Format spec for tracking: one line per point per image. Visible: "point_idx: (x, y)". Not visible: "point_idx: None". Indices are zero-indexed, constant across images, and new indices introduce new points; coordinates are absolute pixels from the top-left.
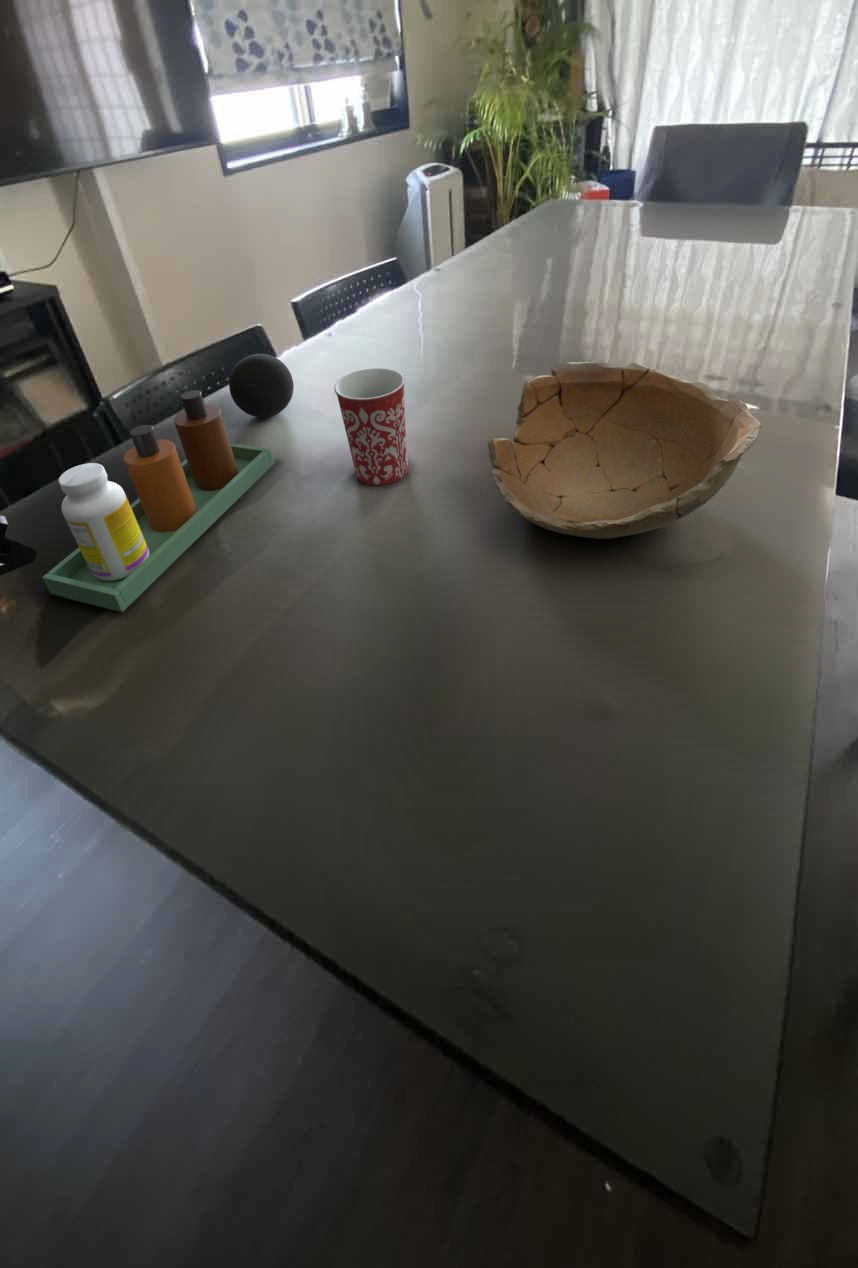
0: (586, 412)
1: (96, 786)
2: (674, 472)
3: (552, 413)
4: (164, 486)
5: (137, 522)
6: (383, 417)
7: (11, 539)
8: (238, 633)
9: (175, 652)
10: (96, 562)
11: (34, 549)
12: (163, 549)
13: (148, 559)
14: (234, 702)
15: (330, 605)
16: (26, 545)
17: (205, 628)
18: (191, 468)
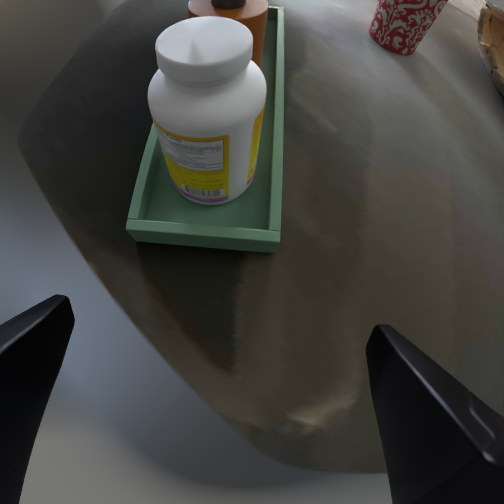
0: (497, 35)
1: None
2: None
3: (487, 30)
4: (255, 50)
5: None
6: (442, 6)
7: (486, 405)
8: (434, 255)
9: (391, 301)
10: (212, 188)
11: (396, 331)
12: (282, 143)
13: (277, 164)
14: (474, 340)
15: (476, 202)
16: (425, 354)
17: (399, 256)
18: None
